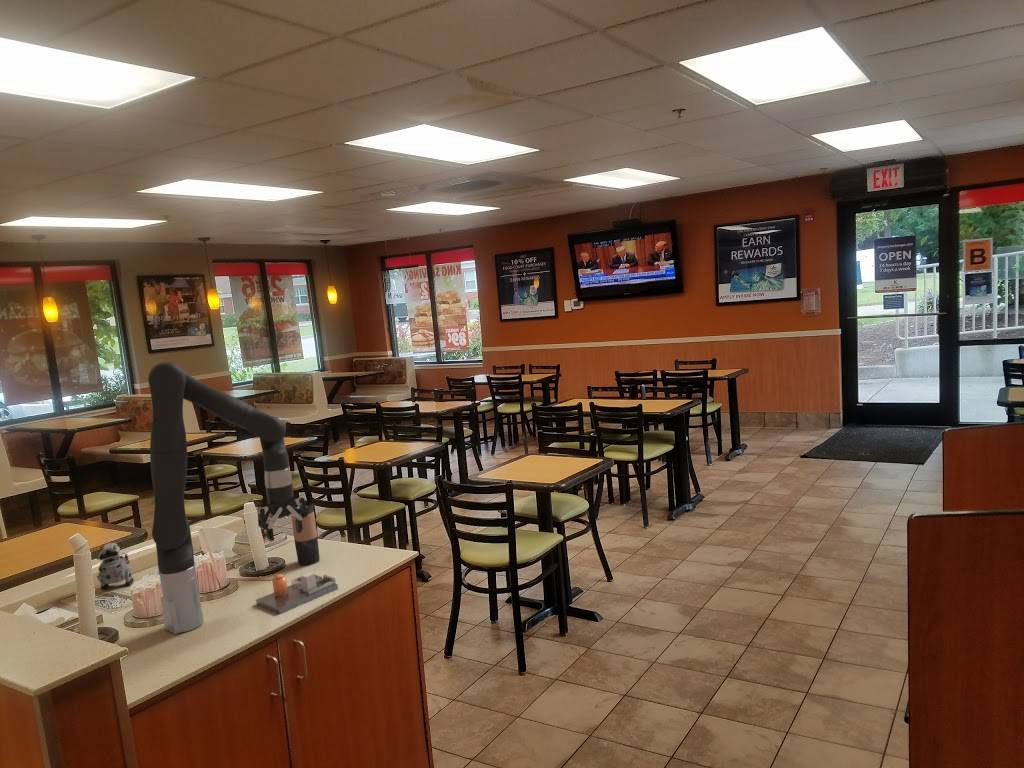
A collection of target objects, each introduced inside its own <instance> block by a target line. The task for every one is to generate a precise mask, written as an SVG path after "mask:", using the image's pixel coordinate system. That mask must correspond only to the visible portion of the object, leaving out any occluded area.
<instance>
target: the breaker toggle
mask: <svg viewBox="0 0 1024 768" xmlns="http://www.w3.org/2000/svg"><path fill="white" fill-rule="evenodd" d="M315 575H316V573H313V572H309V571H308V572H306V573H303V574H301V575H300V577H301V581H302V589H303V592H306V593H307V591H309V590H311V589H314V588H316V587H317V586H316V579H315Z"/></svg>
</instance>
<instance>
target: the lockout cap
mask: <svg viewBox="0 0 1024 768" xmlns="http://www.w3.org/2000/svg"><path fill="white" fill-rule="evenodd" d="M271 581H272V587H273V593H274V596H276V597H281V596H284V595H286V594H288V581H287V576H286V575H284V574H282V573H278V574H275V575H274V577H273V578H272V579H271Z"/></svg>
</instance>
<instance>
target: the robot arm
mask: <svg viewBox="0 0 1024 768" xmlns="http://www.w3.org/2000/svg"><path fill="white" fill-rule="evenodd" d="M147 380H148V381H147V382H148V386H149V391H150V399H151V404H152V405H151V406H152V422H151V431H150V442H149V443H150V445H149V452H150V454H149V455H150V460H149V461H150V463H149V464H150V474H151V480H152V481H151V482H152V488H153V489H152V490H153V497H154V508H153V509H154V510H153V511H154V512H153V523H152V528H151V537H152V540H153V541H154V543H155V548H156V556H157V558H156V559H157V569H158V574H159V580H160V585H161V587H160V588H161V593H162V597H160V603H161V604H160V605H161V609H162V614H163V621H164V622H163V623H164V628H165V630H166V631H167V632H169V633H171V634H173V635H177V634H180V633H185V632H189V631H192V630H195V629H197V628H199V627H200V626H202V625H203V624H204V615H203V614H204V613H203V607H202V603H201V595H200V591H199V590H200V589H199V582H198V577H197V570H196V563H195V556H194V546H193V539H192V534H191V533H192V532H191V527H190V521H189V519H188V517H187V516H186V506H185V492H186V491H185V490H186V483H187V473H188V441H187V433H186V427H185V421H184V415H183V414H184V400H185V401H188V402H190V403H193V404H195V405H196V406H199V407H200V408H202V409H204V410H205V411H208V412H209V413H211V414H213V415H214V416H215V417H218V418H219V419H221V420H223V421H225V422H228V423H230V424H232V425H233V426H235V427H236V426H237V427H239V428H241V429H244V430H245V431H248V432H250V433H252V434H253V435H255V436H257V437H258V438H259V441H260V445H261V446H260V447H261V450H262V458H263V459H262V460H263V461H262V462H263V468H264V485H265V491H266V500H267V505H266V506H263V507H261V506H259V507H257V522H258V523H257V525H258V527H259V528H261V529H262V530H263V529H264V530H265V535H266V538H267V539H268V540H269V541H270V542H272V541H274V540H275V537H274V528H273V526H274V524H275V523H276V522H277V520H278V519H282V518H285V517H290V516H291V515H292V516H293V517H294V518H295V519H296V520H295V526H296V532H297V533H301V531H302V529H303V527H302V519H303V518H304V517H307V516H308V514H307V509H306V499H305V498H304V497H301V496H298V497H297V498H296V499H295V498H294V497H295V496H294V487H293V479H292V478H293V477H292V472H291V469H290V468H291V467H290V463H289V454H288V451H287V449H286V445H285V436H286V433H287V427H286V425H285V422H284V421H282V420H281V419H280V418H278V417H277V416H274V415H270V414H268V413H266V412H263V411H261V410H259V409H257V408H256V407H254V406H252V405H251V404H249V403H247V402H245V401H244V400H241V399H240V398H236V397H235V396H232V395H230V394H228V393H225V392H224V391H220V390H218V389H217V388H214V387H212V386H209V385H207V384H206V383H204V382H202V381H200V380H199V379H197V378H195V377H194V376H192V375H190V374H189V373H187V372H186V371H185V370H184V369H182V368H181V366H180V365H179V364H177V363H175V362H171V361H163V362H162V361H161V362H160V363H157V364H156V365H154V366H153V367H152V368H151V370H150V371H149V373H148V378H147ZM296 504H297V505H299V509H300V514H298V513H297V512H296V511H295V510H294V507H295V505H296ZM267 512H269V515H268V517H267V519H266V515H267Z"/></svg>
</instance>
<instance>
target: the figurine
mask: <svg viewBox="0 0 1024 768" xmlns="http://www.w3.org/2000/svg"><path fill="white" fill-rule="evenodd" d="M99 548H100V549H101V550H100V552H99V554H98V556H97V558H96V561H97V560H98V561H101V562H100V564H99V567H98V575H96V578H97V580H98V582H99V583H100V590H102V591H104V590H106V589H107V588H108V587H109V585H112V584H119V583H121V582H123V581H124V582H125V583H124V584H125V586H126V587H130V586H131V585H132V584H133V583H134V581H135V579H134V577H133V573H132V571H131V569H130V568H128V566H127V564H130V562H131V561H130V560H129V556H128V553H125V552H124V553H122V554H121V555H120V554H119V553H120V550H121V547H120V546H118V544H117V543H115V542H109V543H106V544H104V546H100V547H99ZM123 555H124V556H123Z"/></svg>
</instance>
